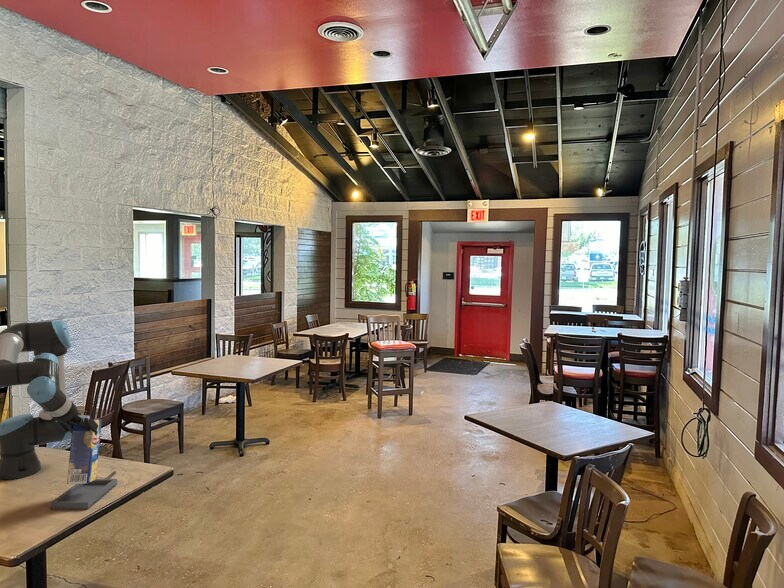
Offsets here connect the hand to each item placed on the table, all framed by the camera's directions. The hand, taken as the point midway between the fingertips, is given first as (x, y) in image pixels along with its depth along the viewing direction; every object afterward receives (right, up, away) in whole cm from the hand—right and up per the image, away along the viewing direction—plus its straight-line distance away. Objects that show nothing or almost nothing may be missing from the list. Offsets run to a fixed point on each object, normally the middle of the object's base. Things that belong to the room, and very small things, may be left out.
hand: (91, 437), depth 199 cm
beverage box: (0, -15, -6) cm, 16 cm away
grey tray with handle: (0, -21, +2) cm, 21 cm away
